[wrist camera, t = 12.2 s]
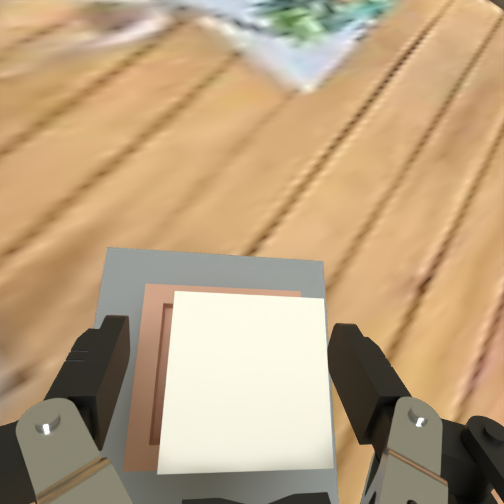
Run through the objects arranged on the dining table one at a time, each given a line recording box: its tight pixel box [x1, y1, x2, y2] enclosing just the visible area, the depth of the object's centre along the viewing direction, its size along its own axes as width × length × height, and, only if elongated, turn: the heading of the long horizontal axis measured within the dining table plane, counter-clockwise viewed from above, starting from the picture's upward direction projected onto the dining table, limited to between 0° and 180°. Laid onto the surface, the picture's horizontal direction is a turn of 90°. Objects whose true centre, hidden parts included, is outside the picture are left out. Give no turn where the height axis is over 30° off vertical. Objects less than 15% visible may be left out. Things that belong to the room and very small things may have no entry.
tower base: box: [94, 247, 339, 504], centre depth 19 cm, size 16×16×7 cm
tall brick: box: [157, 291, 334, 474], centre depth 13 cm, size 4×4×10 cm
